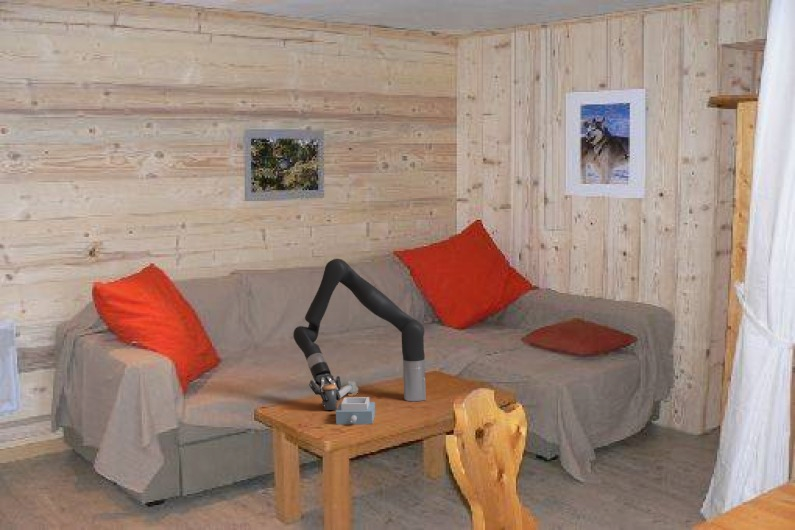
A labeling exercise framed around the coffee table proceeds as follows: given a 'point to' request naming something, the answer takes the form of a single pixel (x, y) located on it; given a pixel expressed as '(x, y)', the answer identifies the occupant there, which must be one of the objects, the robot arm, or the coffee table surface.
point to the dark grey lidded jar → (330, 396)
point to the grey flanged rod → (347, 389)
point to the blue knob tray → (355, 411)
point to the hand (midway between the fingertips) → (332, 400)
